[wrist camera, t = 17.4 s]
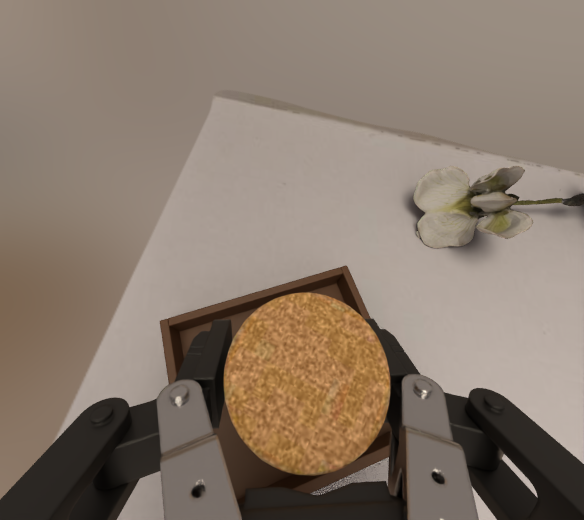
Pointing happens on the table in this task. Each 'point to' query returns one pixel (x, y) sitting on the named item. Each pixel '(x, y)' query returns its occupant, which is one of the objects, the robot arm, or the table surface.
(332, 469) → the bottle
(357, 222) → the table surface
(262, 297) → the tray
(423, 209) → the artificial flower
